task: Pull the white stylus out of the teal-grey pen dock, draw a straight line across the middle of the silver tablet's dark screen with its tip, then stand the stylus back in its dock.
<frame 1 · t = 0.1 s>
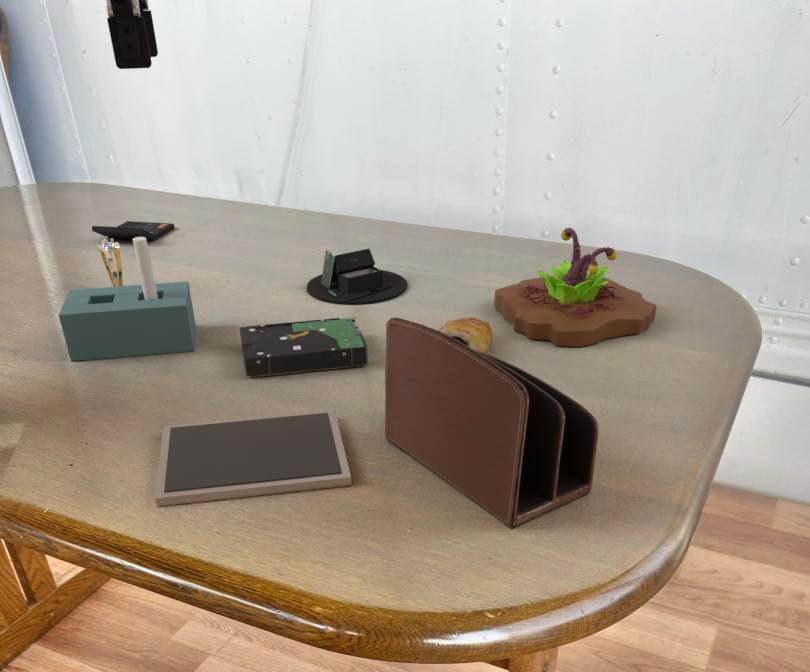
hand: (138, 62, 80), 32 cm above the table, tool pointing down, fingers open, 9 cm apart
letter holder: (482, 467, 79), on the table
round circuit board stand: (357, 288, 121), on the table
stylus: (159, 340, 106), resting in dock
disk drive: (303, 357, 101), on the table
plant: (570, 317, 111), on the table
tablet: (253, 458, 81), on the table
calculator: (136, 237, 144), on the table
ring: (119, 296, 120), on the table
pastry: (463, 350, 102), on the table
dock: (136, 342, 105), on the table
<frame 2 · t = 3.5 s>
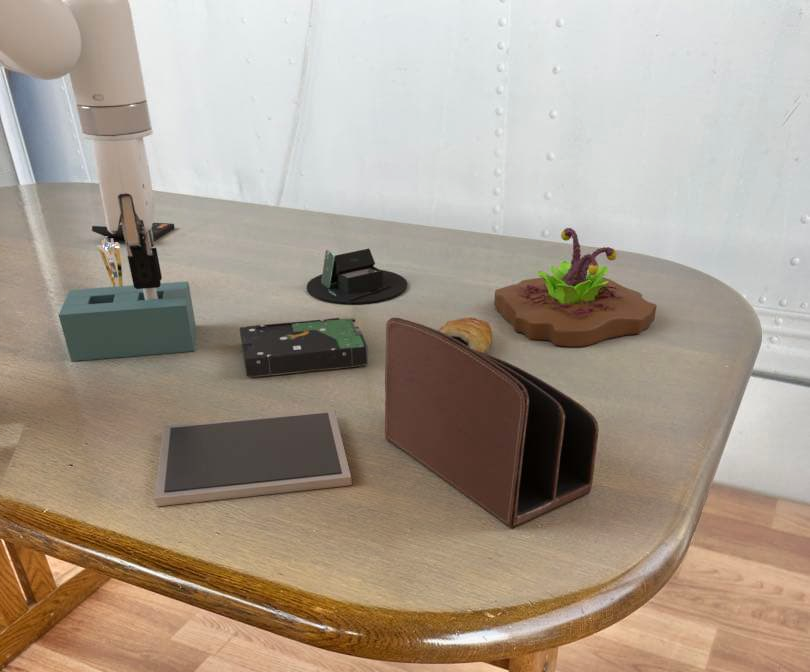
hand: (148, 283, 101), 8 cm above the table, tool pointing down, fingers closed on stylus, 1 cm apart
stylus: (159, 340, 106), resting in dock, touching gripper
everything else where it was.
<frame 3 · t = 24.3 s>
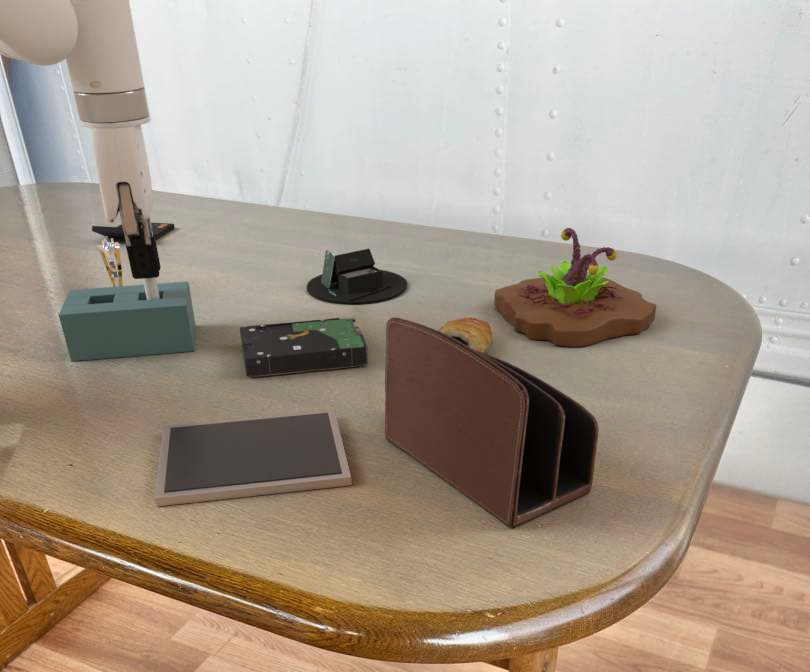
hand: (147, 273, 100), 9 cm above the table, tool pointing down, fingers closed on stylus, 1 cm apart
stylus: (160, 331, 105), point 1 cm above the table, touching gripper
everything else where it was.
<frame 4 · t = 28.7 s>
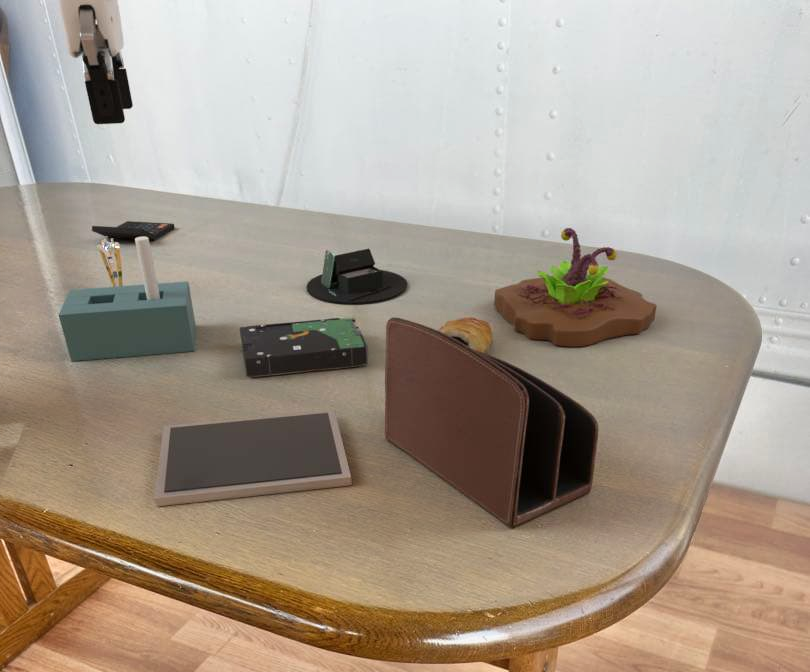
hand: (114, 115, 90), 26 cm above the table, tool pointing down, fingers open, 9 cm apart
stylus: (162, 340, 106), resting in dock
everything else where it was.
at the end: stylus 0.3 cm from the target spot in the dock, point 0.0 cm above the dock's base; stylus tilted 0°; tablet moved 0.0 cm from its start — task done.
